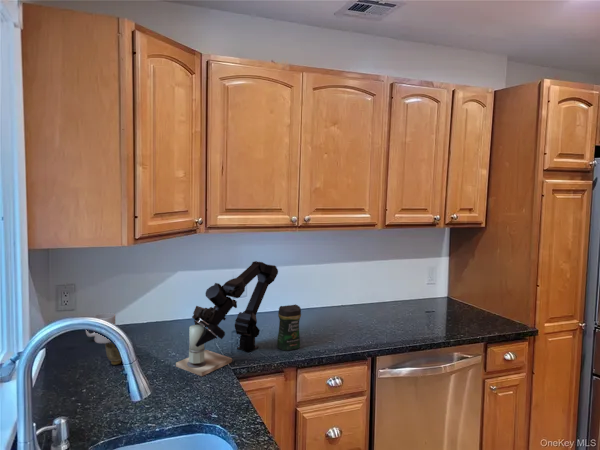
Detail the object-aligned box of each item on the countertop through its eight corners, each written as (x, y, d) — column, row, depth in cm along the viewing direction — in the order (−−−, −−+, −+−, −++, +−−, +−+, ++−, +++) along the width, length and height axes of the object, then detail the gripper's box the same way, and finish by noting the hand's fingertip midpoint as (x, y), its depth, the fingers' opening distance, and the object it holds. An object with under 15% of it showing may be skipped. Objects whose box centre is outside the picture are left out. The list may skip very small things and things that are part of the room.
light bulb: (197, 355, 172) (197, 323, 170) (207, 359, 169) (207, 326, 167) (185, 360, 167) (185, 327, 166) (196, 364, 164) (196, 330, 162)
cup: (120, 358, 175) (120, 338, 174) (130, 363, 170) (130, 343, 169) (101, 363, 169) (101, 343, 168) (111, 369, 165) (111, 348, 164)
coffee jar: (282, 352, 185) (283, 309, 183) (274, 346, 192) (275, 304, 190) (303, 348, 190) (304, 306, 188) (294, 342, 196) (295, 301, 194)
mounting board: (206, 353, 182) (206, 342, 181) (231, 361, 174) (232, 350, 174) (175, 366, 169) (175, 354, 168) (201, 376, 161) (201, 363, 160)
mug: (112, 335, 199) (112, 311, 198) (118, 340, 193) (117, 316, 192) (83, 340, 192) (83, 316, 191) (88, 346, 185) (88, 321, 184)
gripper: (196, 292, 175) (169, 324, 170) (217, 304, 160) (188, 339, 155) (214, 309, 181) (189, 340, 175) (236, 321, 166) (209, 356, 160)
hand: (193, 343), depth 166 cm, fingers closed on light bulb, 5 cm apart
